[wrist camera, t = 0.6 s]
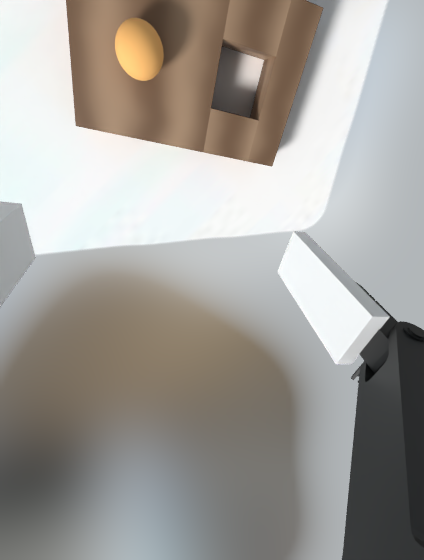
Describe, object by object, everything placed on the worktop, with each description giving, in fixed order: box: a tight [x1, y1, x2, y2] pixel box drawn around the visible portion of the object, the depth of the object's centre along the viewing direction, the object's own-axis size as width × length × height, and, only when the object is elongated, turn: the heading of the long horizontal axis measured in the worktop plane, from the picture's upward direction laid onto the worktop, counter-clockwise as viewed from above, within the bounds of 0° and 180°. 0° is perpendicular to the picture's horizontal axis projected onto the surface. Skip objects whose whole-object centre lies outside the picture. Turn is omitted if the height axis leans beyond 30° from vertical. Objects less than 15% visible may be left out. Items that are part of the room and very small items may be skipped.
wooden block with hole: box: [66, 0, 323, 166], centre depth 26 cm, size 22×14×4 cm, turn 77°
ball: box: [115, 18, 164, 81], centre depth 22 cm, size 4×4×4 cm
